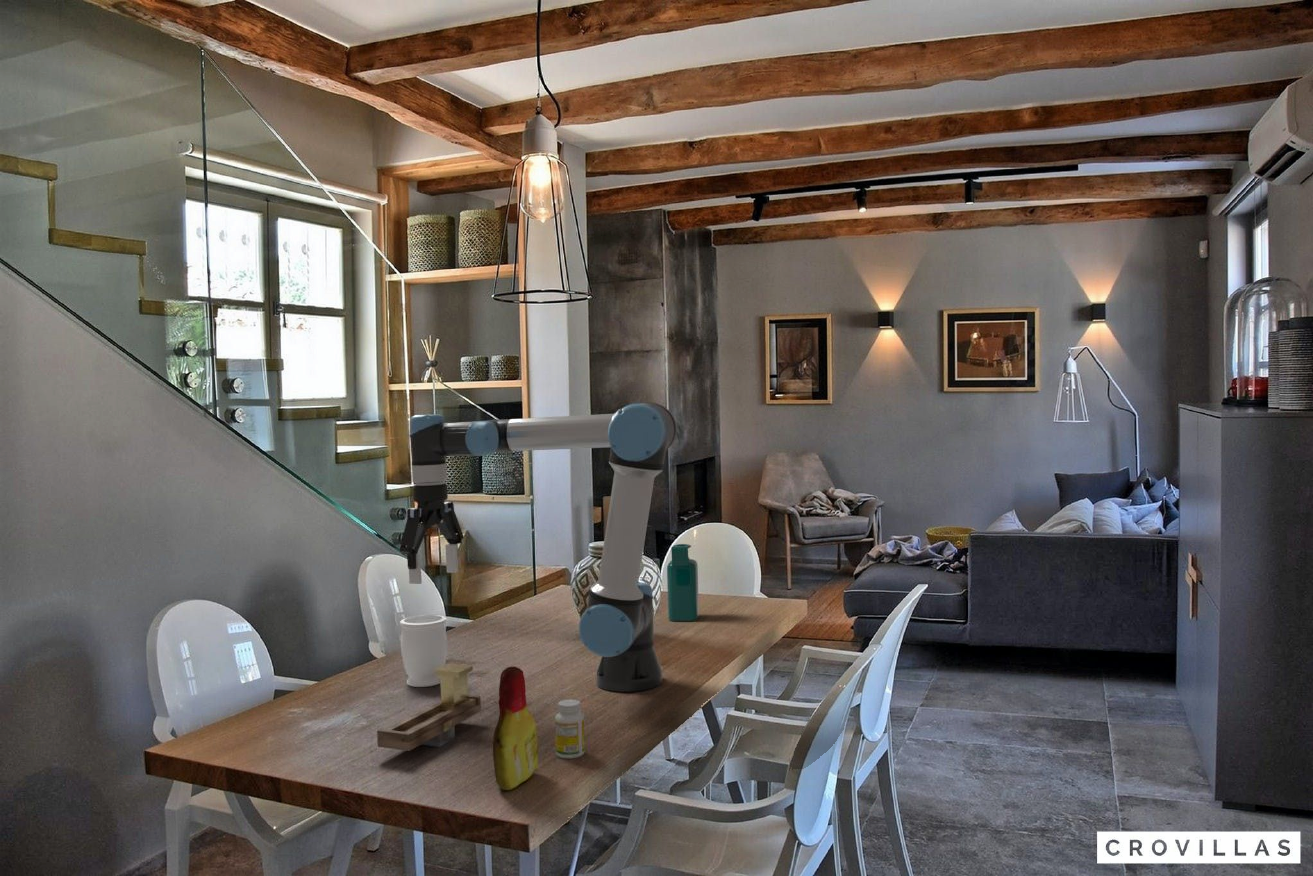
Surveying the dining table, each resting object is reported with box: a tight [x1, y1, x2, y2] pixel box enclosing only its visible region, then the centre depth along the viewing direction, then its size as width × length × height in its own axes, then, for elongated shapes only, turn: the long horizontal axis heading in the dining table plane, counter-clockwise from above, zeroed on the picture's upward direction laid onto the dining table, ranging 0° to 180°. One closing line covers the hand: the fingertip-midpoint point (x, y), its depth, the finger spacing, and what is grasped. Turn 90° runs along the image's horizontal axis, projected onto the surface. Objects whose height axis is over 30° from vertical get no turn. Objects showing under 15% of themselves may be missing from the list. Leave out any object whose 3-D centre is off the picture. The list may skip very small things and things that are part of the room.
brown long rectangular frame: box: [376, 694, 482, 752], centre depth 193 cm, size 24×8×6 cm, turn 158°
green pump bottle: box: [666, 543, 700, 622], centre depth 292 cm, size 10×8×22 cm
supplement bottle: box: [554, 698, 586, 759], centre depth 184 cm, size 5×5×10 cm
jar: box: [399, 614, 448, 688], centre depth 233 cm, size 11×10×15 cm
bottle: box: [492, 666, 539, 791], centre depth 171 cm, size 12×6×20 cm, turn 163°
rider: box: [435, 663, 474, 711], centre depth 200 cm, size 5×6×8 cm
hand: (434, 578), depth 224 cm, fingers open, 13 cm apart
